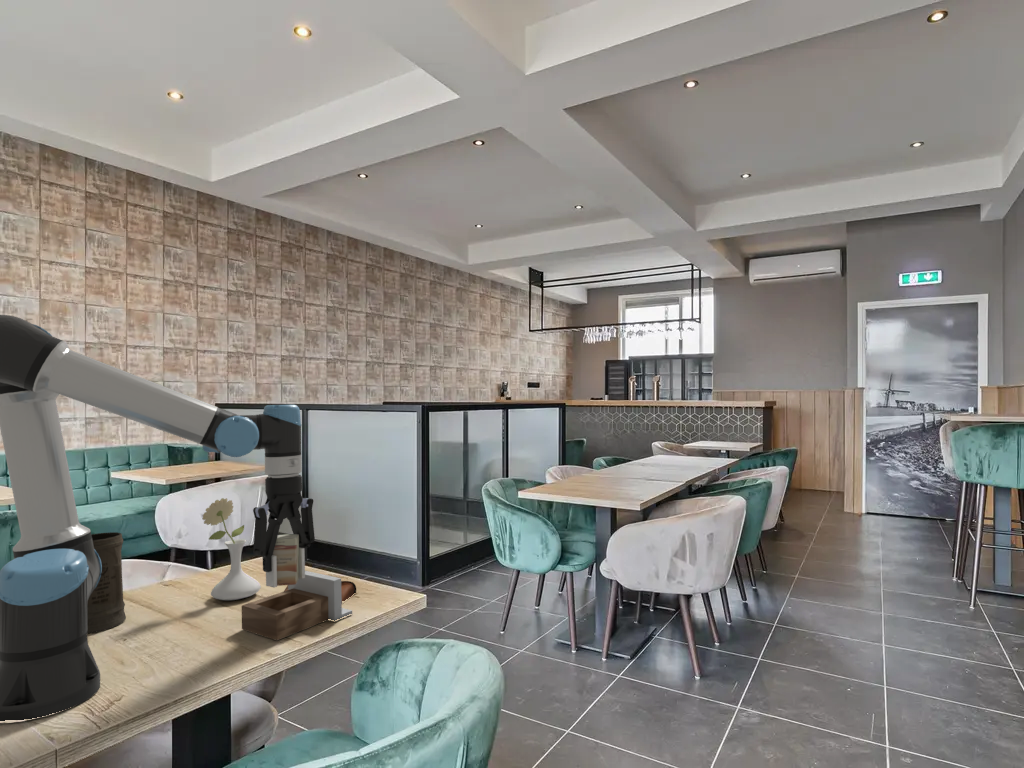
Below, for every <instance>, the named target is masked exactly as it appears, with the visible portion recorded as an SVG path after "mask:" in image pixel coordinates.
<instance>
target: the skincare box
mask: <svg viewBox="0 0 1024 768" xmlns="http://www.w3.org/2000/svg"><path fill="white" fill-rule="evenodd" d="M273 555H275V556H276V558H277V587H280V586H287V585H295V584H296V583H297V581H298V579H299V534H293V533H292V534H291V533H290V534H289V533H287V534H278V536H277V540H276V544H275V548H274V552H273Z"/></svg>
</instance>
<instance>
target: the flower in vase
mask: <svg viewBox="0 0 1024 768" xmlns="http://www.w3.org/2000/svg"><path fill="white" fill-rule="evenodd" d="M233 512H234V503H233V500H232V499H231V500H230V499H229V500H228V498H224V497H222V498H221V499H220V500H219V499H216V500H215V501H214V502H211V504H210V505H209V506H208V507H207V508H205V512H203V514H202V520H203V524H205V525H207V526H208V525H210V526H217V525H218V524H222V523H223V527H224V531H223V530H217V531H215V532H214V533H212V535H210V537H209V538H208V540H212V541H213V540H215V541H216V540H221V539H222V538H223V537H224V536H225V535H227V536H228V537H229V538H230V540H228V541H227V540H226V541H225V542H224V545H225V546H226V547H227V549H228V552H229V555H230V557H229V558H230V569H229V572H228V574H227V575H226V576H224V578H223V579H221V580H220V581H219V582H218V583H217V584H216V585H215V586H214V587H212V590H211V591H210V595H211V596H210V597H212V598H213V599H216V600H218V601H219V600H220V601H235V600H236V601H237V600H241V599H244V598H248V597H251V596H253V595H255V594H257V593H258V592H259V591H260V589H261V588H262V586H261V583H260V582H259V581H258V580H257V579H255V578H254V577H252V576H251V575H249V574H247V573H246V572H245V571H243V569H242V564H241V563H242V561H241V560H242V552H243V548H244V546H245V544H246V543H247V539H244V538H241V539H240V538H237V539H233V538H236V537H237V536H240V535H242V534H243V533H244V530H245V524H243V525H241V526H240V527H238V528H235V529H233V531H232V532H231V534H230V533H229V532H228V530H227V525H226V522H225V521H227V520H228V519H229V516H230V517H231V514H232V513H233Z"/></svg>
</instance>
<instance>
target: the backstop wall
mask: <svg viewBox="0 0 1024 768" xmlns="http://www.w3.org/2000/svg"><path fill="white" fill-rule="evenodd" d="M341 581H342V578H341V577H337V576H332V575H327V574H322V573H318V572H313V571H308V570H305V578H299V579H298V581H297V583H296V584H295V585H288V590H290V589H293V588H294V589H298V590H302V591H306V592H311V593H315V594H319V595H323V596H327V597H328V617H329V619H331V620H334V621H335V620H337V619H340V618H342V617H344V616H347V615H349V614H352V615H353V610H352V609H348V608H344V607H342V606H343V604H342V597H341Z"/></svg>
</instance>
